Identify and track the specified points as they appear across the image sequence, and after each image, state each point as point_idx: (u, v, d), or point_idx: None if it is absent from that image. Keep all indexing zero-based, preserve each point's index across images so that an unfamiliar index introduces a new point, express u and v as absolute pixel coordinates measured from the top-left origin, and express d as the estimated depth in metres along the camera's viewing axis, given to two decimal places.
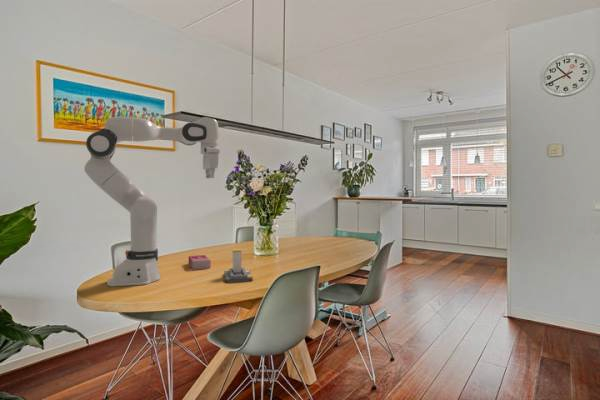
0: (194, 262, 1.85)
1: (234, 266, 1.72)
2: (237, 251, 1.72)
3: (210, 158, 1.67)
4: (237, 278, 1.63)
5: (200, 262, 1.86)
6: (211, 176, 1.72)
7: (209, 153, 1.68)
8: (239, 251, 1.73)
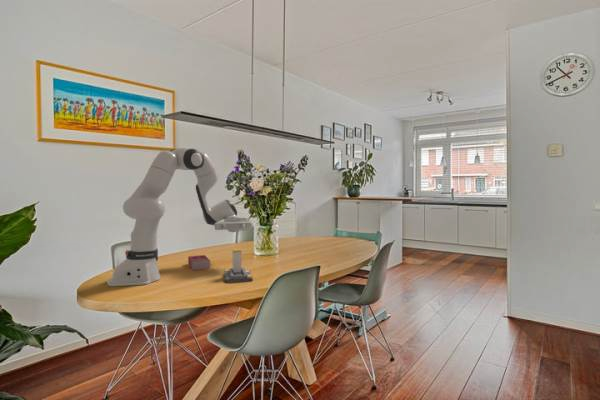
0: (194, 262, 1.85)
1: (234, 266, 1.72)
2: (237, 251, 1.72)
3: None
4: (237, 278, 1.63)
5: (200, 262, 1.86)
6: (243, 226, 1.87)
7: None
8: (239, 251, 1.73)
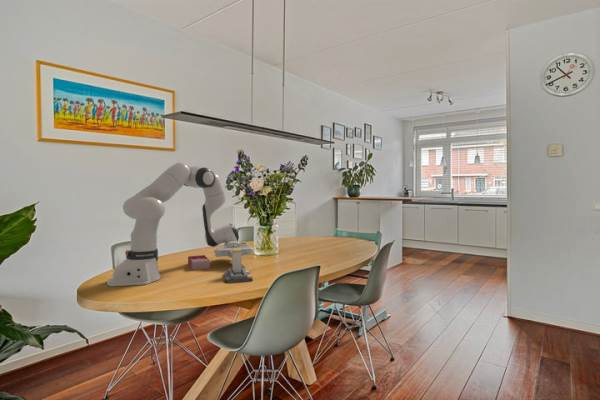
0: (193, 262, 1.84)
1: (234, 266, 1.72)
2: (237, 251, 1.72)
3: None
4: (237, 278, 1.63)
5: (199, 262, 1.86)
6: None
7: None
8: (239, 251, 1.73)
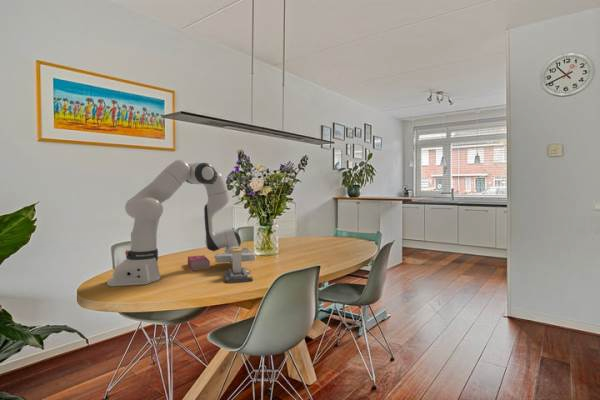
0: (193, 262, 1.84)
1: (234, 266, 1.72)
2: (237, 251, 1.72)
3: None
4: (237, 278, 1.63)
5: (199, 262, 1.85)
6: None
7: None
8: (239, 251, 1.72)
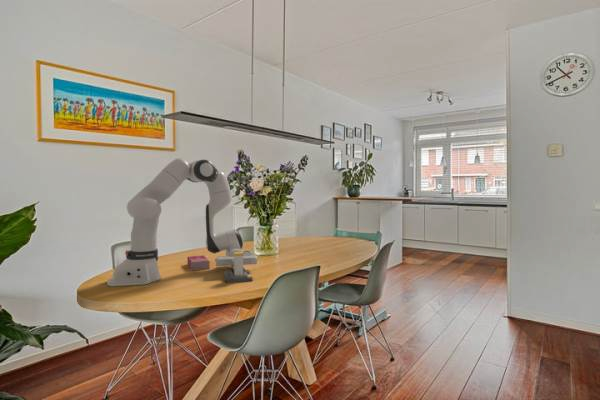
0: (193, 262, 1.84)
1: (236, 270, 1.64)
2: (239, 254, 1.64)
3: None
4: (237, 278, 1.63)
5: (199, 262, 1.85)
6: None
7: None
8: (241, 254, 1.65)
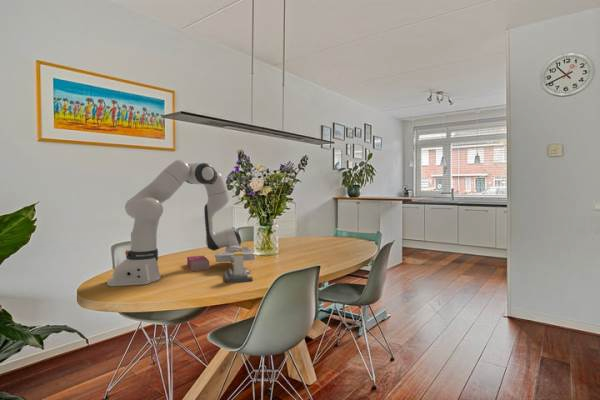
0: (193, 263, 1.84)
1: (236, 270, 1.64)
2: (239, 254, 1.64)
3: None
4: (237, 278, 1.63)
5: (199, 263, 1.85)
6: None
7: None
8: (241, 254, 1.65)
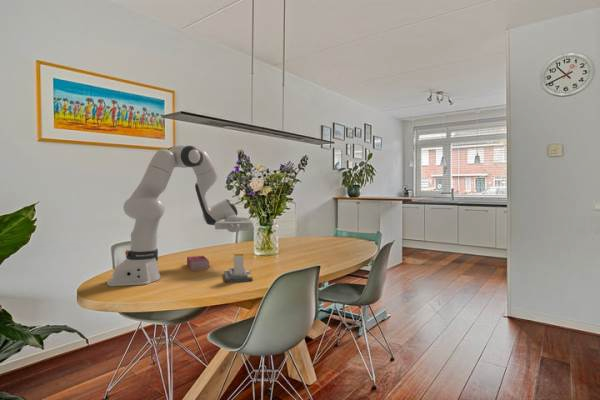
0: (192, 263, 1.83)
1: (236, 270, 1.64)
2: (239, 254, 1.64)
3: None
4: (237, 278, 1.63)
5: (199, 263, 1.85)
6: (237, 225, 1.83)
7: None
8: (241, 254, 1.65)
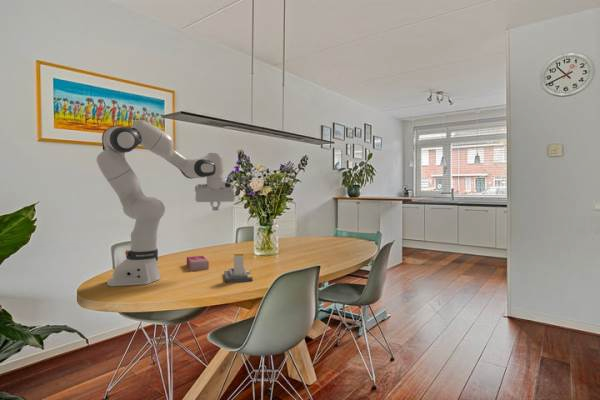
0: (192, 263, 1.83)
1: (236, 270, 1.64)
2: (239, 254, 1.64)
3: None
4: (237, 278, 1.63)
5: (198, 263, 1.84)
6: None
7: None
8: (241, 254, 1.65)
